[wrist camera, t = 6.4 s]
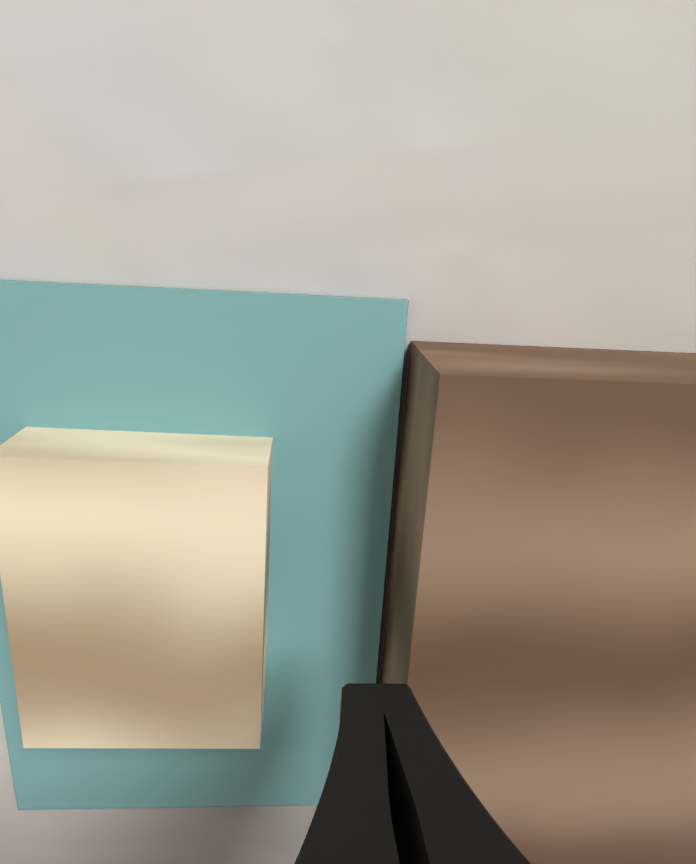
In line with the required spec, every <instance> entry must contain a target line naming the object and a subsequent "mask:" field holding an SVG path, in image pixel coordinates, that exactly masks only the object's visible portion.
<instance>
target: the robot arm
mask: <svg viewBox="0 0 696 864" xmlns="http://www.w3.org/2000/svg"><path fill="white" fill-rule="evenodd" d="M295 864H531V863H530V862H529V861H528V860H527V859H526V857H525V856H524V855H523V854H522V853H521V852H520V851H519V849H518V848H517V847H516V846H515V845H514V843H513V842H512V841H511V840H510V839H509V837H508V836H507V835H506V834H505V833H504V831H503V830H502V829H501V828H500V826H499V825H498V824H497V823H496V821H495V820H494V819H493V818H492V816H491V815H490V814H489V812H488V811H487V810H486V808H485V807H484V806H483V804H482V803H481V802H480V800H479V799H478V798H477V796H476V795H475V793H474V792H473V791H472V789H471V788H470V786H469V785H468V784H467V782H466V781H465V779H464V778H463V776H462V775H461V773H460V772H459V770H458V769H457V767H456V766H455V764H454V763H453V761H452V760H451V758H450V757H449V755H448V754H447V752H446V750H445V749H444V747H443V746H442V744H441V742H440V741H439V739H438V738H437V736H436V734H435V732H434V731H433V729H432V727H431V726H430V724H429V722H428V720H427V719H426V717H425V715H424V713H423V711H422V710H421V708H420V706H419V704H418V702H417V700H416V698H415V696H414V694H413V692H412V690H411V688H410V687H409V686H408V685H407V684H392V683H347V684H346V685H345V686H344V687H342V692H341V707H340V723H339V731H338V737H337V741H336V745H335V749H334V753H333V757H332V761H331V765H330V769H329V772H328V775H327V779H326V782H325V785H324V788H323V791H322V794H321V797H320V800H319V803H318V806H317V809H316V812H315V814H314V817H313V820H312V822H311V825H310V828H309V830H308V833H307V835H306V838H305V840H304V843H303V845H302V847H301V850H300V852H299V855H298V857H297V859H296V861H295Z"/></svg>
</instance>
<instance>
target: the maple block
mask: <svg viewBox="0 0 696 864" xmlns="http://www.w3.org/2000/svg"><path fill="white" fill-rule="evenodd" d="M272 448H273V438H271V437H249V436H226V435H203V434H180V433H157V432H134V431H112V430H89V429H66V428H43V427H25V428H23V429H22V430H21V431H19V432H18V433H16V434H15V435H14V436H12V437H11V438H10V439H8V440H7V441H5V442H4V443H3V444H1V445H0V576H1V584H2V591H3V599H4V606H5V614H6V621H7V629H8V636H9V644H10V651H11V659H12V666H13V674H14V681H15V689H16V696H17V704H18V711H19V719H20V726H21V734H22V741H23V748H179V749H260V743H261V732H262V721H263V710H264V699H265V679H266V646H267V613H268V580H269V547H270V514H271V481H272Z"/></svg>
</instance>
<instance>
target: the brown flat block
mask: <svg viewBox="0 0 696 864" xmlns="http://www.w3.org/2000/svg"><path fill="white" fill-rule="evenodd" d="M381 683H392V684H407V685H408V686H409V687H410V688H411V690H412V692H413V694H414V696H415V698H416V700H417V702H418V704H419V706H420V708H421V710H422V711H423V713H424V715H425V717H426V719H427V720H428V722H429V724H430V726H431V727H432V729H433V731H434V732H435V734H436V736H437V738H438V739H439V741H440V742H441V744H442V746H443V747H444V749H445V750H446V752H447V754H448V755H449V757H450V758H451V760H452V761H453V763H454V764H455V766H456V767H457V769H458V770H459V772H460V773H461V775H462V776H463V778H464V779H465V781H466V782H467V784H468V785H469V786H470V788H471V789H472V791H473V792H474V793H475V795H476V796H477V798H478V799H479V800H480V802H481V803H482V804H483V806H484V807H485V808H486V810H487V811H488V812H489V814H490V815H491V816H492V818H493V819H494V820H495V821H496V823H497V824H498V825H499V826H500V828H501V829H502V830H503V831H504V833H505V834H506V835H507V836H508V837H509V839H510V840H511V841H512V842H513V843H514V845H515V846H516V847H517V848H518V849H519V851H520V852H521V853H522V854H523V855H524V856H525V857H526V859H527V860H528V861H529V862H530V863H531V864H696V353H674V352H651V351H628V350H605V349H582V348H559V347H536V346H513V345H490V344H467V343H445V342H422V341H411V348H410V360H409V371H408V382H407V393H406V405H405V416H404V427H403V438H402V450H401V461H400V472H399V483H398V495H397V506H396V517H395V528H394V540H393V551H392V562H391V573H390V585H389V596H388V607H387V618H386V630H385V641H384V652H383V663H382V675H381Z"/></svg>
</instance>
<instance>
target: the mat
mask: <svg viewBox="0 0 696 864" xmlns="http://www.w3.org/2000/svg"><path fill="white" fill-rule="evenodd" d="M408 302H409V301H408V300H404V299H383V298H363V297H342V296H322V295H301V294H281V293H260V292H240V291H219V290H199V289H179V288H158V287H138V286H117V285H97V284H76V283H56V282H35V281H15V280H0V445H1V444H3V443H4V442H5V441H7V440H8V439H10V438H11V437H12V436H14V435H15V434H16V433H18V432H19V431H21V430H22V429H23V428H25V427H43V428H66V429H89V430H112V431H134V432H157V433H180V434H203V435H226V436H249V437H271V438H273V448H272V481H271V514H270V547H269V580H268V613H267V646H266V679H265V699H264V710H263V721H262V732H261V743H260V749H179V748H23V741H22V734H21V726H20V719H19V711H18V704H17V696H16V689H15V681H14V674H13V666H12V659H11V651H10V644H9V636H8V629H7V621H6V614H5V606H4V599H3V591H2V584H1V576H0V703H1V709H2V715H3V721H4V728H5V734H6V740H7V746H8V752H9V758H10V765H11V771H12V777H13V783H14V789H15V795H16V801H17V808H18V810H37V809H103V808H169V807H235V806H301V805H318V803H319V800H320V797H321V794H322V791H323V788H324V785H325V782H326V779H327V775H328V772H329V769H330V765H331V761H332V757H333V753H334V749H335V745H336V741H337V737H338V731H339V723H340V707H341V692H342V687H344V686H345V685H346V684H347V683H376V676H377V664H378V652H379V640H380V629H381V617H382V605H383V594H384V582H385V570H386V559H387V547H388V535H389V524H390V512H391V500H392V489H393V477H394V465H395V454H396V442H397V430H398V419H399V407H400V395H401V384H402V372H403V360H404V349H405V337H406V325H407V314H408Z"/></svg>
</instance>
